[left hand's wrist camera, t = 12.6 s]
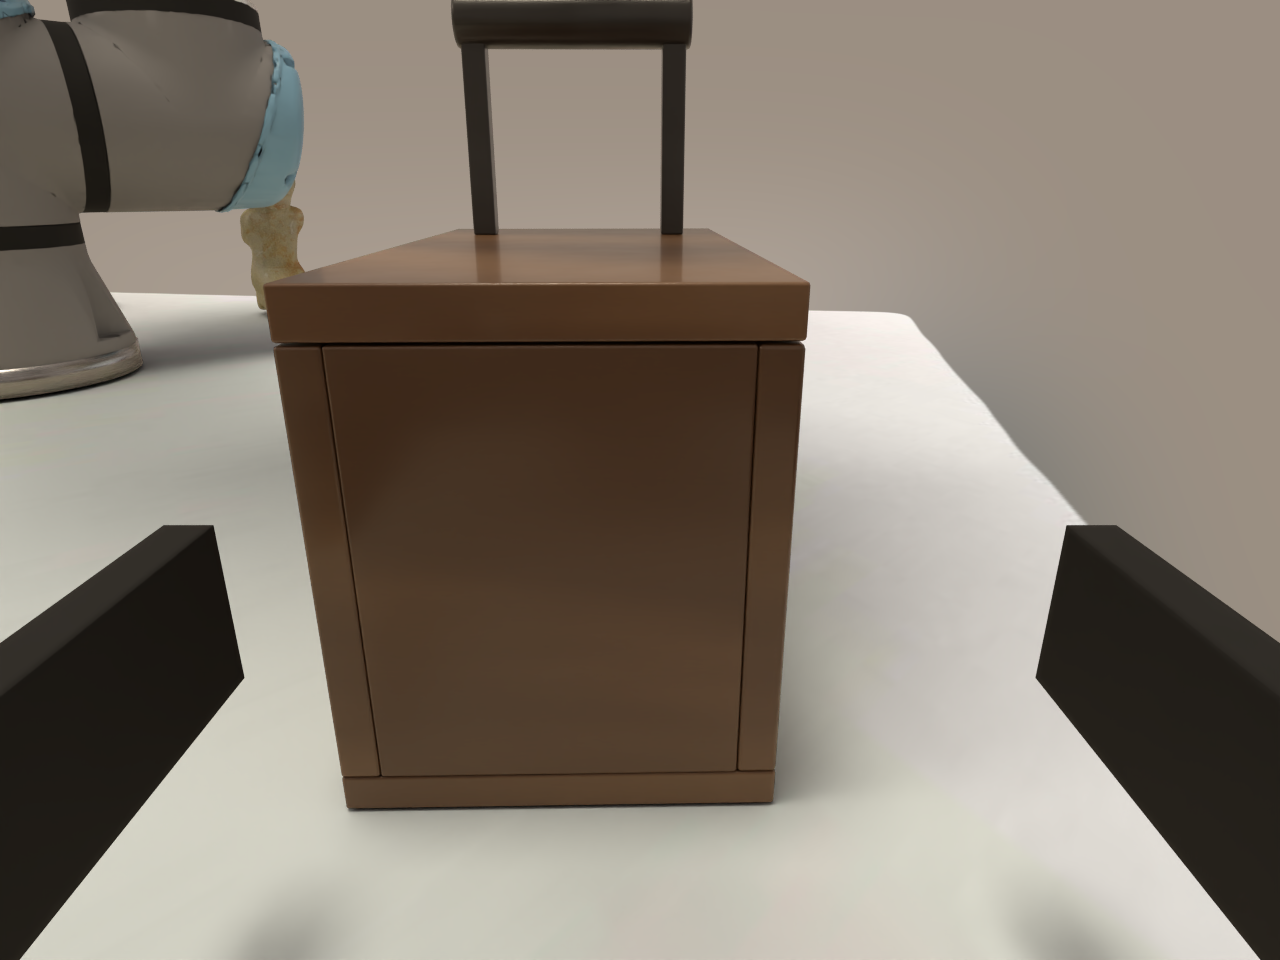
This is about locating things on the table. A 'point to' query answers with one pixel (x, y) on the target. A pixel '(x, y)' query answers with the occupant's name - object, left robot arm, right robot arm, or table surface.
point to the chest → (548, 564)
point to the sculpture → (272, 242)
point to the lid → (552, 230)
